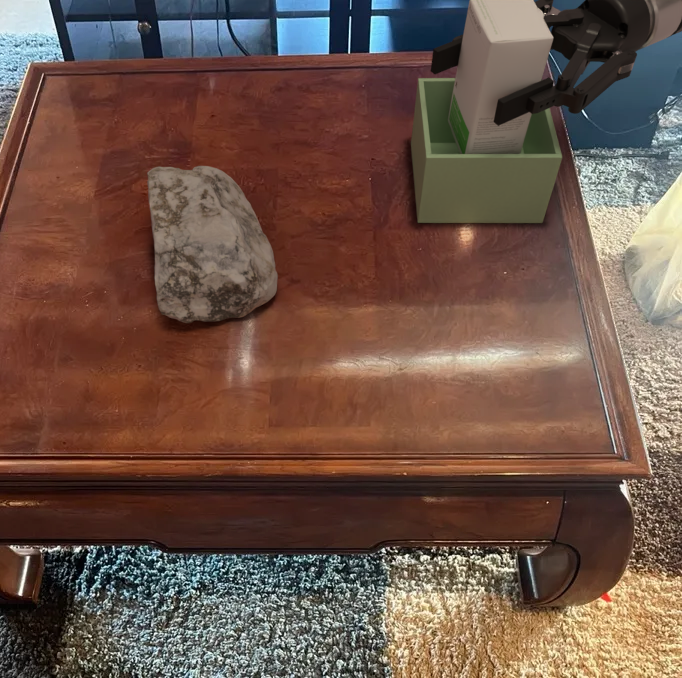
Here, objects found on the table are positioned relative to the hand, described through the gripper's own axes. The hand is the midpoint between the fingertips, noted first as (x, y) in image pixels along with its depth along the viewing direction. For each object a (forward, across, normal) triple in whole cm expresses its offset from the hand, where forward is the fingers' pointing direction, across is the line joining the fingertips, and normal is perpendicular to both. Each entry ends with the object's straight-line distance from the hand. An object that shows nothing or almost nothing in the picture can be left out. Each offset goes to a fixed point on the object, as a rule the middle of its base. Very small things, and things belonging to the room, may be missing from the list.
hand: (465, 86), depth 83 cm
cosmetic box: (-4, 0, -9) cm, 10 cm away
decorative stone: (+28, +7, -16) cm, 33 cm away
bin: (-5, +1, -16) cm, 17 cm away
